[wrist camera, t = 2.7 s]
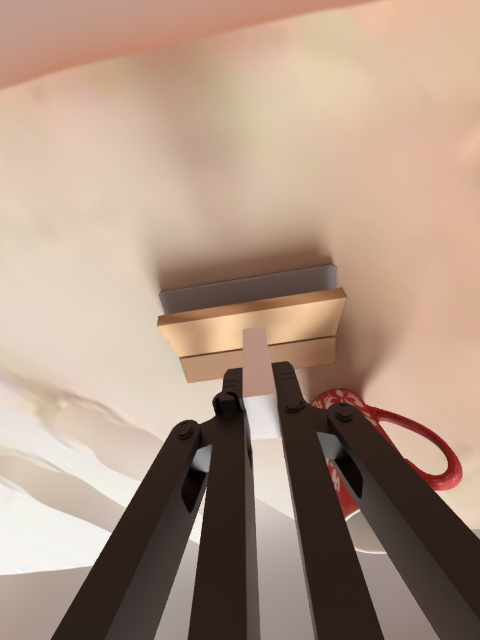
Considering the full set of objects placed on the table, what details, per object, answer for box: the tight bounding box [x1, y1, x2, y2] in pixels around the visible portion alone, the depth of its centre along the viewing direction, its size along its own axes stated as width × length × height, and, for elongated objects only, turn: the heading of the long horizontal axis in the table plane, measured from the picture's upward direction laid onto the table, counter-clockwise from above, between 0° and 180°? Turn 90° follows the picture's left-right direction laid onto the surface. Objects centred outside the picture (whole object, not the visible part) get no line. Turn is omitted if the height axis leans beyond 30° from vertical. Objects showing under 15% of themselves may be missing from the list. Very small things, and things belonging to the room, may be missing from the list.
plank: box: [157, 288, 347, 357], centre depth 24 cm, size 17×6×1 cm, turn 99°
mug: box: [312, 390, 462, 554], centre depth 26 cm, size 13×9×14 cm
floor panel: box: [159, 264, 336, 383], centre depth 26 cm, size 18×11×2 cm, turn 99°
